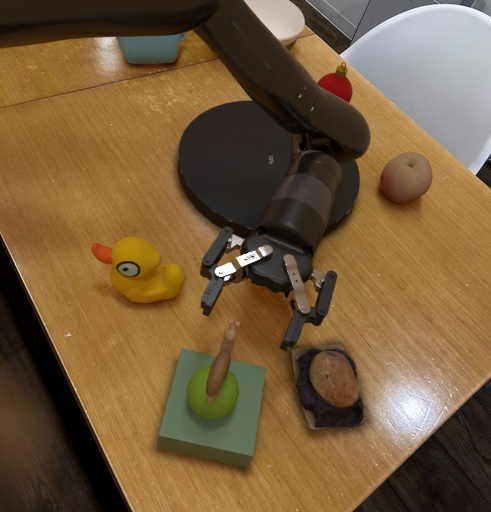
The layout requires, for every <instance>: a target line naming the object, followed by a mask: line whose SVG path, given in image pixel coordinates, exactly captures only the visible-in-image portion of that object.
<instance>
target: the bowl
mask: <svg viewBox="0 0 491 512" xmlns="http://www.w3.org/2000/svg"><path fill="white" fill-rule="evenodd" d="M244 1H245V2H246V4H247V5H248V6H249V7H250V8H251V10H252V11H253V12H254V13H255V14H256V16H257V17H258V18H259V19H260V20H261V21H262V22H263V23H264V25H265V26H266V27H267V28H268V29H269V30H270V31H271V32H272V33H273V34H274V35H275V37H276V38H277V39H278V40H279V41H280V42H281V43H282V44H283V45H284V46H285V47H286V48H287V49H288V51H289V52H290V51H291V50H292V49H293V47H294V46H295V44H296V42H297V41H298V38H299V36H300V34H301V33H302V32H303V31H304V29H305V26H306V19H305V16H304V14H303V13H302V11H301V9H300V8H299V7H298V6H297V5H296V4H295V3H294V2H292V1H290V0H244Z"/></svg>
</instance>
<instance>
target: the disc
mask: <svg viewBox="0 0 491 512" xmlns="http://www.w3.org/2000/svg"><path fill="white" fill-rule="evenodd" d="M292 136H293V134H290V133H288V132H286V131H284V130H283V129H282V128H280V127H279V126H278V125H277V124H276V123H275V122H274V121H273V120H272V119H271V118H270V117H269V116H268V115H267V114H265V113H264V112H263V111H262V110H261V109H260V108H259V107H258V106H257V105H256V104H255V103H254V102H253V100H252V99H251V100H250V99H249V100H235V101H229V102H225V103H222V104H221V103H220V104H218V105H215V106H213V107H210V108H208V109H207V110H205V111H203V112H201V113H199V114H198V115H197V116H196V117H194V119H193V120H191V121H190V122H189V123H188V124H187V126H186V128H185V129H184V131H183V132H182V135H181V137H180V140H179V143H178V152H177V153H178V154H177V170H176V171H177V174H178V175H177V176H178V180H179V185H180V186H181V188H182V191H183V193H184V195H185V196H186V199H187V200H188V201H189V202H190V203H191V205H192V206H193V207H194V208H195V210H196V211H197V212H198V213H199V214H201V216H203V217H204V218H205V219H206V220H207V221H209V222H210V223H211V224H213V225H214V226H216V227H218V228H219V229H221V230H222V229H223V228H224V227H226V226H228V227H231V228H232V229H233V233H232V234H234V235H236V236H238V237H240V238H242V239H244V240H245V239H246V238H248V237H250V236H251V235H252V233H253V231H254V229H255V227H256V225H257V223H258V221H259V219H260V217H261V215H262V214H263V212H264V210H265V208H266V206H267V204H268V202H269V200H270V198H271V196H272V194H273V193H274V191H275V190H276V188H277V187H278V186H279V184H280V183H281V181H282V179H283V177H284V175H285V173H286V171H287V169H288V167H289V164H290V155H291V144H292ZM339 165H340V167H341V171H342V179H341V183H340V186H339V189H338V192H337V194H336V197H335V199H334V202H333V204H332V207H331V212H330V217H329V220H328V222H327V225H326V228H325V231H324V233H323V235H322V238H323V237H326V235H329V234H331V233H333V231H334V230H336V229H337V228H339V226H340V225H342V223H344V221H345V219H346V218H347V216H348V215H349V213H350V211H351V209H352V207H353V206H354V205H355V203H356V201H357V198H358V195H359V192H360V189H361V174H360V170H359V165H358V162H357V159H356V160H353V161H349V162H345V163H341V164H339Z"/></svg>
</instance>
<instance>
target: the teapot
mask: <svg viewBox="0 0 491 512" xmlns="http://www.w3.org/2000/svg"><path fill="white" fill-rule="evenodd" d="M186 37H187V32H186V33H182V34H178V35H170V36H147V37H115V38H116V42H117V45H118V48H119V49H120V51H121V53H122V56H123V58H124V60H126V61H127V62H128V63H129V64H132V65H161V64H172V63H175V61H176V59H177V58H178V55H179V50H180V47H179V46H180V42H184V41H185V40H186Z"/></svg>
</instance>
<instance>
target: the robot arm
mask: <svg viewBox="0 0 491 512" xmlns="http://www.w3.org/2000/svg"><path fill="white" fill-rule="evenodd" d="M189 32H193V33H194V34H195V35H196V36H197V37H198V38H199V39H200V40H201V41H202V42H203V43H204V44H205V45H206V46H207V47H208V48H209V49H210V51H212V53H214V55H215V56H216V58H217V59H218V60H219V61H220V62H221V63H222V65H223V66H224V67H225V69H226V70H227V71H228V72H229V74H230V75H231V76H232V77H233V78H234V80H235V81H236V83H237V84H238V85H239V86H240V88H241V89H242V90H243V91H244V93H246V95H247V96H248V97H249V98H250V99H251V100H253V102H254V103H255V104H256V105H257V106H258V107H259V108H260V109H261V110H262V111H263V112H264V113H265V114H267V115H268V116H269V117H270V118H271V119H272V120H273V121H274V122H275V123H276V124H277V125H278V126H279V127H280V128H282V129H283V130H284V131H286V132H288V133H290V134H293V136H292V144H291V155H290V164H289V167H288V169H287V171H286V173H285V175H284V177H283V179H282V181H281V183H280V184H279V186H278V187H277V188H276V190H275V191H274V193H273V194H272V196H271V198H270V200H269V202H268V204H267V206H266V208H265V210H264V212H263V214H262V215H261V217H260V219H259V221H258V223H257V225H256V227H255V229H254V231H253V233H252V235H251V236H250V237H248V238H246V239H243V238H240V237H238V236H236V235H234V234H232V233H233V229H232V228H231V227H228V226H226V227H224V228H223V229H221V230H220V231H219V233H218V235H217V236H216V237H215V238H214V239H215V240H213V242H212V243H211V245H210V246H209V248H208V250H207V251H206V252H205V254H204V255H203V257H202V258H201V263H200V269H199V275H200V277H202V278H204V279H207V280H209V282H208V285H207V286H206V288H205V290H204V292H203V293H202V295H201V299H200V306H199V307H200V309H202V315H203V316H205V317H207V318H209V317H210V315H211V314H212V312H213V310H214V309H215V306H216V304H217V302H218V301H219V298H220V296H221V294H222V292H223V290H224V288H225V287H227V286H229V285H233V284H234V285H236V284H239V283H242V282H244V281H246V280H250V283H251V284H253V285H255V286H257V287H262V288H265V289H266V290H268V291H269V292H271V293H273V294H276V295H277V294H278V293H280V294H282V296H283V300H284V302H285V305H286V307H288V309H289V311H290V314H291V318H290V320H289V322H288V324H287V327H286V329H285V332H284V335H283V337H282V340H281V342H280V345H279V348H278V349H279V350H281V351H284V352H286V351H287V349H288V348H289V349H294V347H295V346H296V344H297V343H298V342H299V340H300V337H301V334H302V331H303V329H304V326H305V324H312V326H314V327H320V326H321V325H322V324H323V321H324V319H325V318H326V317H327V316H328V314H329V311H330V308H331V303H332V300H333V295H334V292H335V287H336V284H337V280H338V273H337V272H336V271H334V270H332V269H331V270H327V271H326V273H325V272H323V271H320V270H317V269H316V268H315V269H314V264H313V260H314V257H315V255H316V253H317V250H318V248H319V245H320V243H321V240H322V238H323V237H322V235H323V233H324V231H325V228H326V225H327V222H328V220H329V217H330V212H331V207H332V204H333V202H334V199H335V197H336V194H337V192H338V189H339V186H340V183H341V179H342V171H341V167H340V165H339V164H341V163H345V162H349V161H353V160H356V161H357V160H358V159H360V158H362V157H363V156H364V155H365V154H366V153H367V152H368V150H369V147H370V145H371V140H372V134H371V129H370V126H369V124H368V121H367V119H366V118H365V116H364V115H363V114H362V113H361V111H360V110H359V109H357V107H355V106H354V105H352V104H351V103H350V102H349V103H348V102H346V101H344V100H343V99H341V98H339V97H337V96H336V95H334V94H332V93H331V92H329V91H327V90H325V89H323V88H321V87H320V86H319V85H318V84H317V83H318V81H316V80H315V79H314V77H313V76H312V75H311V74H310V73H309V72H308V70H307V69H306V68H305V67H304V66H303V65H302V63H300V61H299V60H298V59H297V58H296V57H295V56H294V55H293V54H292V52H291V51H290V50H289V51H288V49H287V48H286V47H285V46H284V45H283V44H282V43H281V42H280V41H279V40H278V39H277V38H276V37H275V35H274V34H273V33H272V32H271V31H270V30H269V29H268V28H267V27H266V26H265V25H264V23H263V22H262V21H261V20H260V19H259V18H258V17H257V16H256V14H255V13H254V12H253V11H252V10H251V8H250V7H249V6H248V5H247V4H246V2H245V1H244V0H0V50H3V49H11V48H18V47H19V48H20V47H27V46H35V45H41V44H49V43H55V42H61V41H68V40H78V39H91V38H92V39H94V38H95V39H97V38H99V39H100V38H116V37H147V36H170V35H178V34H179V35H182V33H186V34H187V33H189ZM235 250H238V251H239V254H240V256H237V257H235V258H233V259H232V261H230V262H228V263H224V264H223V265H220V266H219V265H218V264H219V262H220V261H221V260H222V258H223V256H224V255H225V254H226V255H229V254H231V253H233V252H234V251H235ZM308 281H311V282H312V284H313V289H314V292H315V293H317V296H316V300H315V303H314V306H312V305H310V303H309V301H308V298H307V295H306V287H305V285H304V284H305V283H307V282H308Z"/></svg>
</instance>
